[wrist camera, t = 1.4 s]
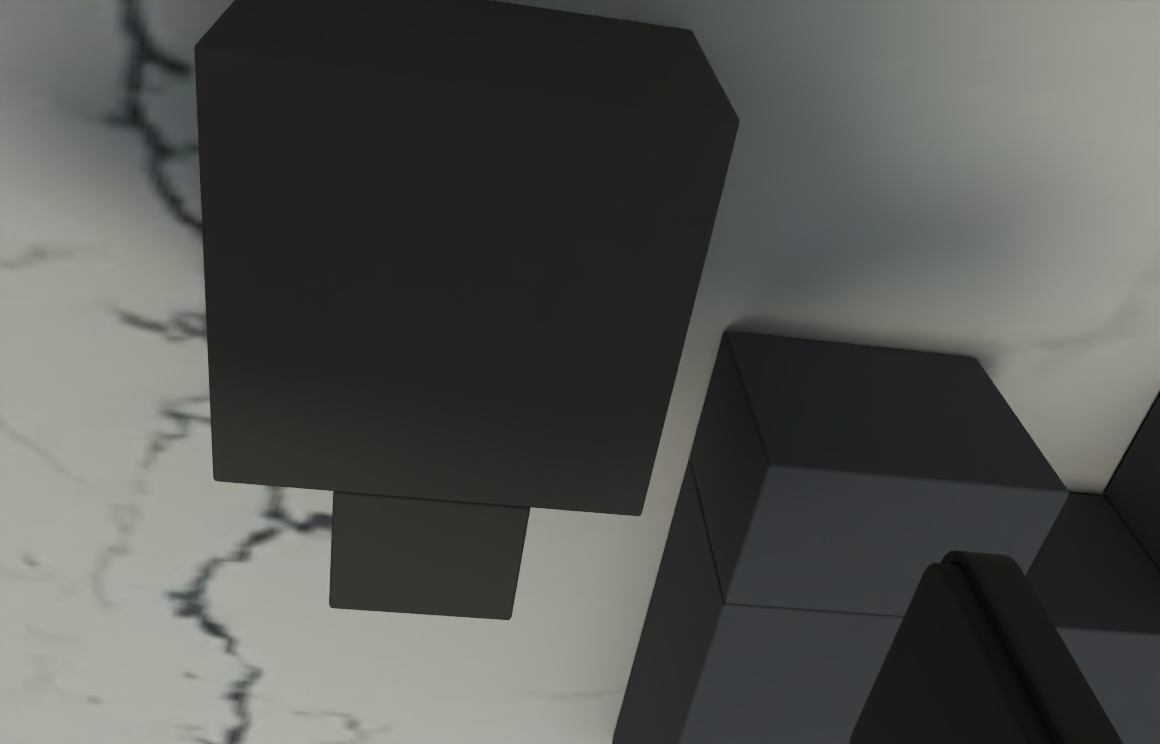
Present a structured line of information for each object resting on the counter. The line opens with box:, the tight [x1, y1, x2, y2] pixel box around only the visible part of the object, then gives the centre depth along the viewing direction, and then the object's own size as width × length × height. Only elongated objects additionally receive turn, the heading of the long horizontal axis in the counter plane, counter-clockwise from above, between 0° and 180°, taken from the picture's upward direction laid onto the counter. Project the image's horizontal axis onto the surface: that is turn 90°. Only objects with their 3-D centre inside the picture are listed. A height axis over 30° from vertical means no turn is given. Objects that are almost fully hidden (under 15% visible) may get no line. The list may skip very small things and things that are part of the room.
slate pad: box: [612, 331, 1160, 744], centre depth 22 cm, size 12×14×4 cm
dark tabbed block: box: [194, 0, 739, 620], centre depth 16 cm, size 9×6×4 cm
